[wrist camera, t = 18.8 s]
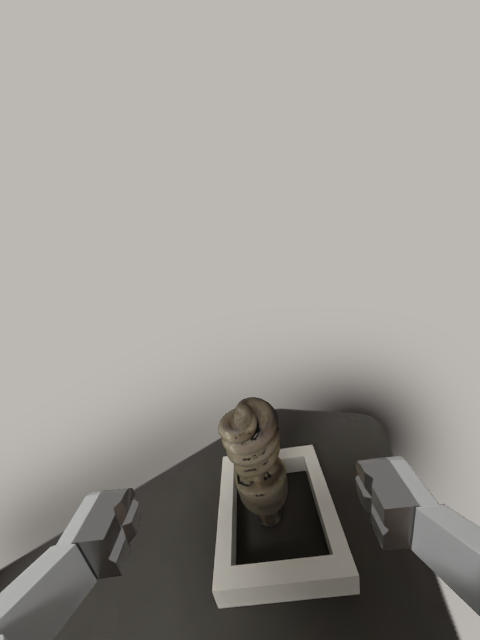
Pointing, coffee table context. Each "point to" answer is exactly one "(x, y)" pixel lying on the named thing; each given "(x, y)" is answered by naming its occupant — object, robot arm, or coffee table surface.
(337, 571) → the bulb holder
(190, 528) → the coffee table surface
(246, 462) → the light bulb
